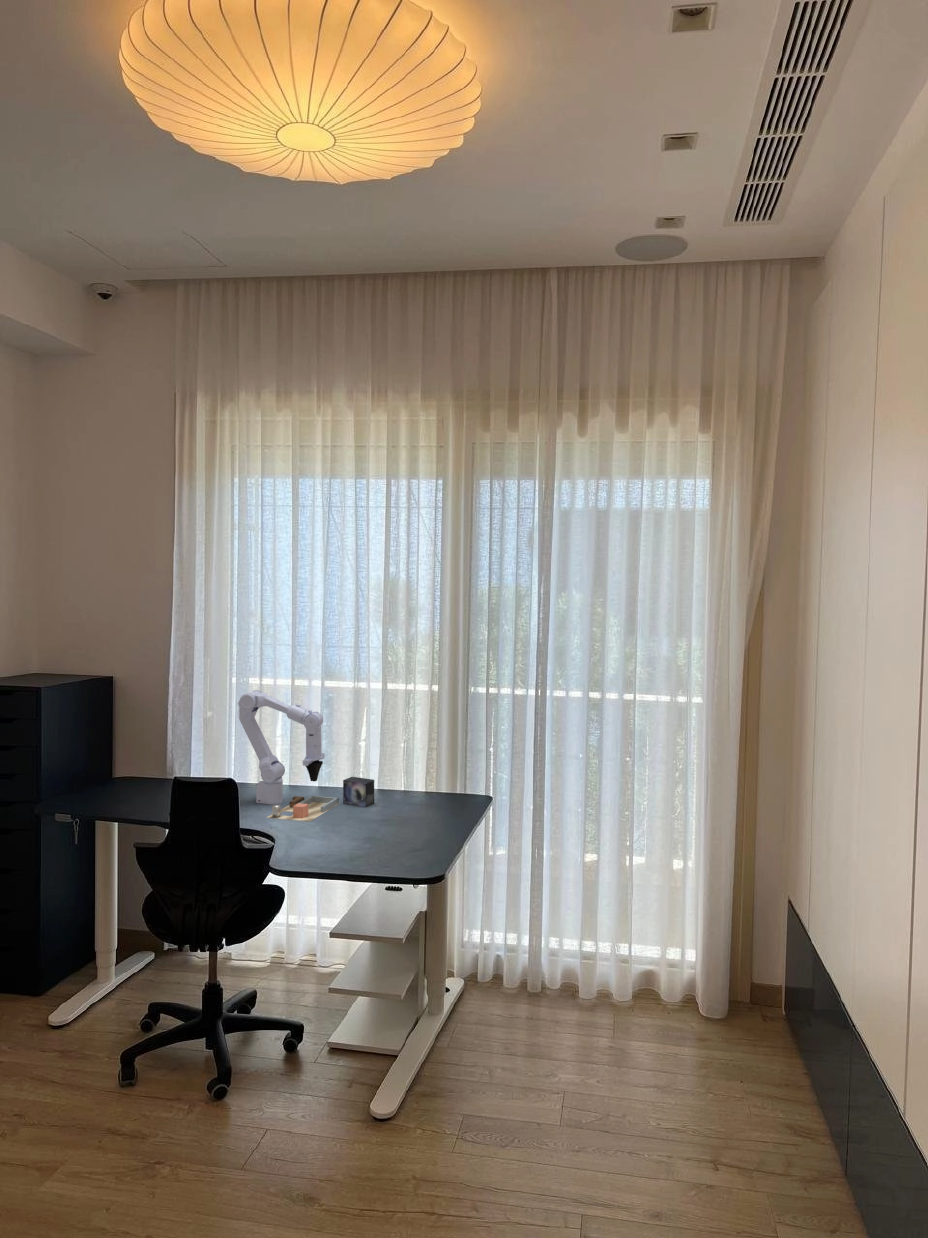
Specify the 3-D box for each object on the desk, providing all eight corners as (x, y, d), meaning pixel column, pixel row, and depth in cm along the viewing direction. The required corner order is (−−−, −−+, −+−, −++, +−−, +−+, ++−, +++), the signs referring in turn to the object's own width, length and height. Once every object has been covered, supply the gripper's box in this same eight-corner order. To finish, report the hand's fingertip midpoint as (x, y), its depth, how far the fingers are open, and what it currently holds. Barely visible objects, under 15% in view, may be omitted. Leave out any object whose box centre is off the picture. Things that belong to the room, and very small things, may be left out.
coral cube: (293, 817, 320) (293, 806, 320) (298, 814, 324) (298, 803, 324) (303, 818, 319) (303, 807, 319) (308, 815, 323) (308, 804, 323)
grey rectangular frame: (295, 810, 330) (295, 804, 330) (312, 801, 343) (312, 795, 343) (323, 812, 327) (323, 807, 327) (338, 803, 340) (338, 798, 340)
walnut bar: (284, 806, 334) (284, 801, 334) (294, 801, 342) (294, 796, 342) (294, 807, 333) (294, 802, 333) (304, 802, 341) (304, 797, 341)
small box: (342, 807, 339) (341, 779, 338) (352, 803, 344) (351, 776, 344) (365, 811, 334) (365, 783, 333) (375, 806, 340) (375, 779, 339)
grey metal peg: (270, 817, 320) (270, 806, 320) (274, 815, 323) (274, 804, 323) (278, 818, 319) (278, 807, 319) (282, 815, 322) (282, 804, 322)
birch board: (266, 820, 320) (266, 817, 320) (299, 802, 345) (299, 799, 345) (309, 824, 315) (309, 821, 315) (340, 806, 340) (340, 803, 340)
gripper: (314, 749, 329) (315, 786, 330) (331, 742, 343) (331, 777, 344) (297, 748, 331) (297, 784, 332) (314, 741, 345) (314, 776, 346)
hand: (313, 780), depth 338 cm, fingers closed
